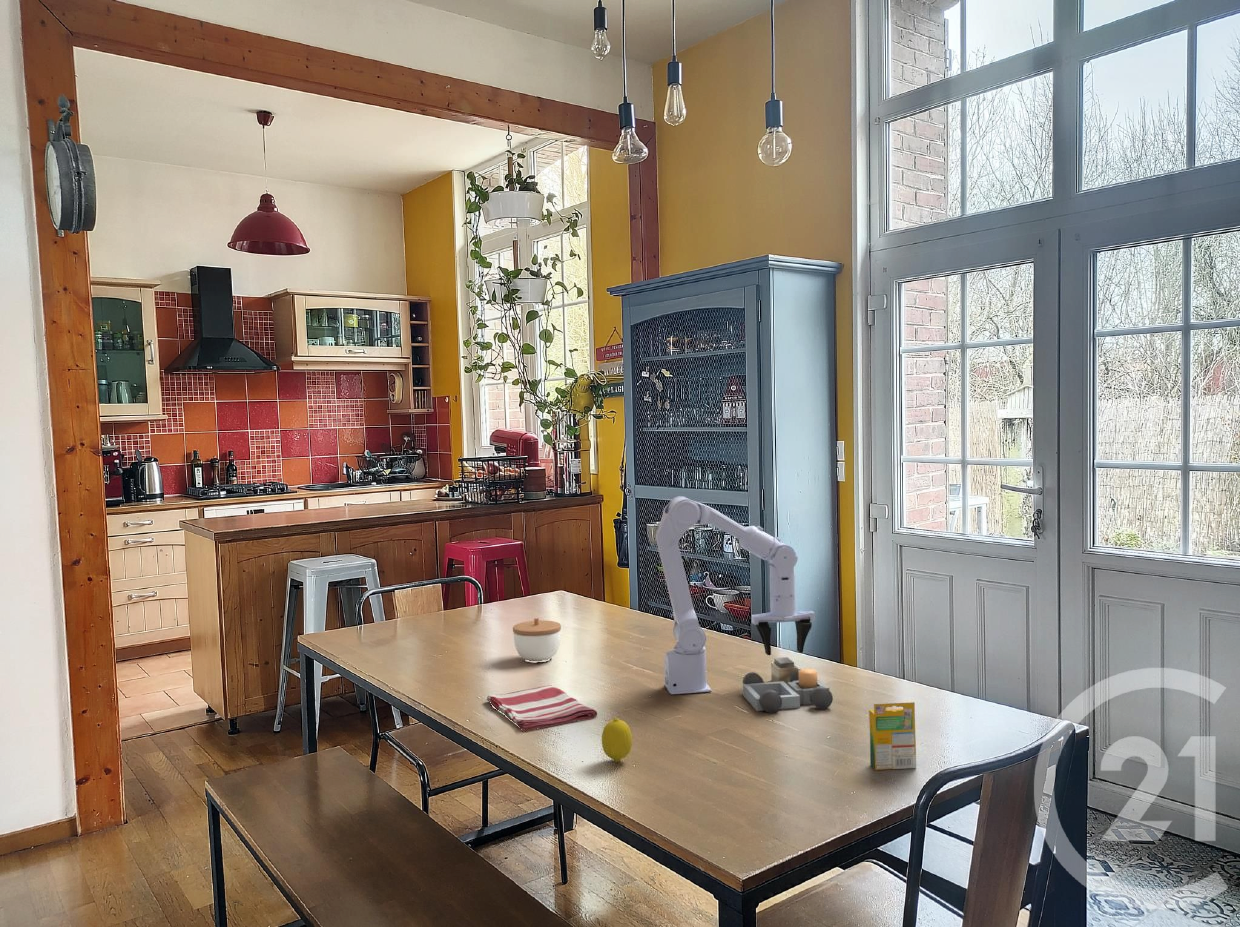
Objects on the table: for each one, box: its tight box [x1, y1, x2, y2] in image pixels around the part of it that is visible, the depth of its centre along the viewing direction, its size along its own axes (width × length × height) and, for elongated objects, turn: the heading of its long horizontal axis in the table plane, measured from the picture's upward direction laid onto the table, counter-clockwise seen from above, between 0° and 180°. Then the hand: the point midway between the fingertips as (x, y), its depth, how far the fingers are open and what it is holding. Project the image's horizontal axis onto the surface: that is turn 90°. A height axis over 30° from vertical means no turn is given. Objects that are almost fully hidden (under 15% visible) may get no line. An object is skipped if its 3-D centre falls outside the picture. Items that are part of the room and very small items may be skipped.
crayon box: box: [868, 701, 917, 771], centre depth 151 cm, size 7×3×12 cm, turn 92°
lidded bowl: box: [512, 617, 562, 661], centre depth 229 cm, size 13×13×11 cm
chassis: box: [742, 668, 834, 714], centre depth 189 cm, size 17×15×4 cm
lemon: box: [601, 717, 633, 763], centre depth 157 cm, size 6×6×8 cm
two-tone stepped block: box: [770, 656, 799, 685], centre depth 202 cm, size 4×6×6 cm
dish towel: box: [486, 684, 598, 732], centre depth 189 cm, size 17×23×3 cm
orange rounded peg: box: [799, 668, 818, 689], centre depth 190 cm, size 4×4×4 cm
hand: (784, 653), depth 201 cm, fingers open, 7 cm apart
